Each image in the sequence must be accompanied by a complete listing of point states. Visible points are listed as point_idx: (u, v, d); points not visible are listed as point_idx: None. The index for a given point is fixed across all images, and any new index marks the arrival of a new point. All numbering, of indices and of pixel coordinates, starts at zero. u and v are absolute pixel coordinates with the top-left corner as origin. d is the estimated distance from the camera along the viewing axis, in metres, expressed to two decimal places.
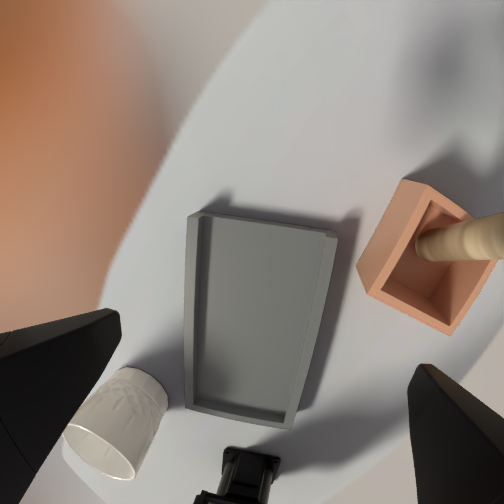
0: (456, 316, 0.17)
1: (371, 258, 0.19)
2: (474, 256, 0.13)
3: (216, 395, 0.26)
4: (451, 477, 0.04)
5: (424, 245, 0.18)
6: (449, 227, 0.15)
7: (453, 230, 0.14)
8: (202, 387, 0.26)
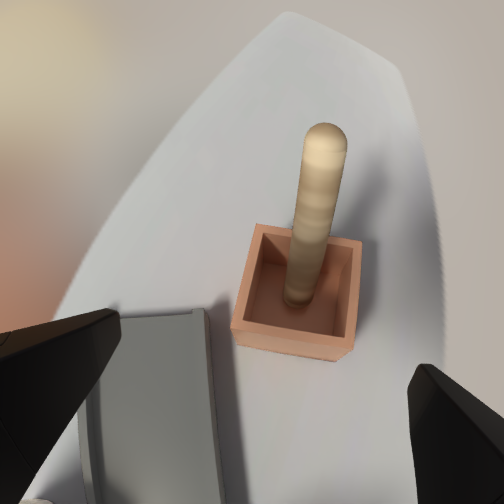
0: (346, 324, 0.17)
1: None
2: (308, 237, 0.17)
3: None
4: (451, 477, 0.04)
5: (285, 286, 0.21)
6: None
7: None
8: None
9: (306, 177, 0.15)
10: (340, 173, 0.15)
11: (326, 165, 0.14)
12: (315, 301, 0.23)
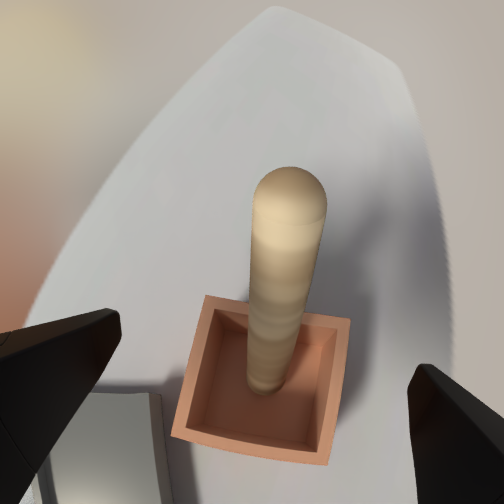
0: (321, 436, 0.12)
1: None
2: (268, 334, 0.12)
3: None
4: (451, 477, 0.04)
5: (247, 373, 0.15)
6: None
7: None
8: None
9: (257, 259, 0.10)
10: (314, 252, 0.09)
11: (288, 245, 0.09)
12: (289, 381, 0.17)
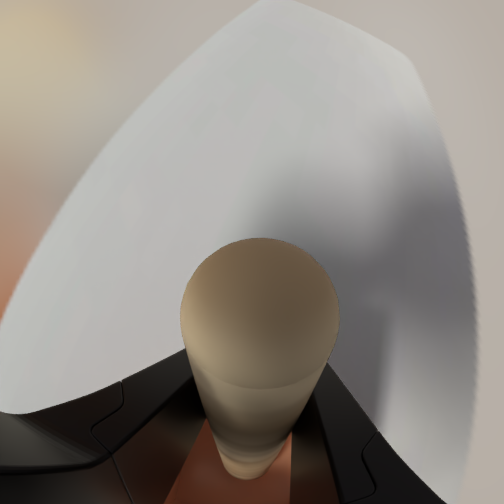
0: None
1: None
2: (237, 458, 0.07)
3: None
4: (304, 481, 0.05)
5: None
6: None
7: None
8: None
9: (203, 401, 0.05)
10: (307, 397, 0.05)
11: (253, 406, 0.04)
12: (277, 458, 0.12)
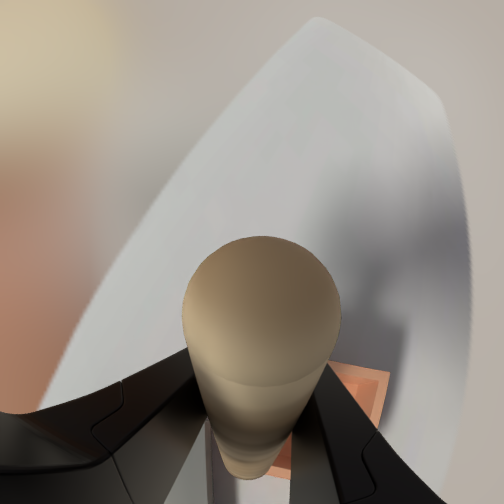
0: None
1: None
2: (238, 457, 0.07)
3: None
4: (304, 481, 0.05)
5: None
6: None
7: None
8: None
9: (205, 399, 0.05)
10: (308, 395, 0.05)
11: (255, 404, 0.04)
12: None
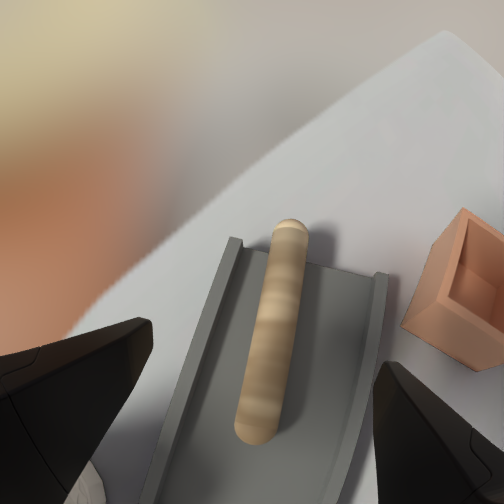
0: None
1: (423, 295, 0.17)
2: (275, 313, 0.16)
3: None
4: (408, 482, 0.04)
5: (240, 401, 0.14)
6: None
7: (251, 341, 0.16)
8: (173, 488, 0.13)
9: (274, 253, 0.17)
10: (304, 253, 0.18)
11: (292, 238, 0.18)
12: (476, 305, 0.18)
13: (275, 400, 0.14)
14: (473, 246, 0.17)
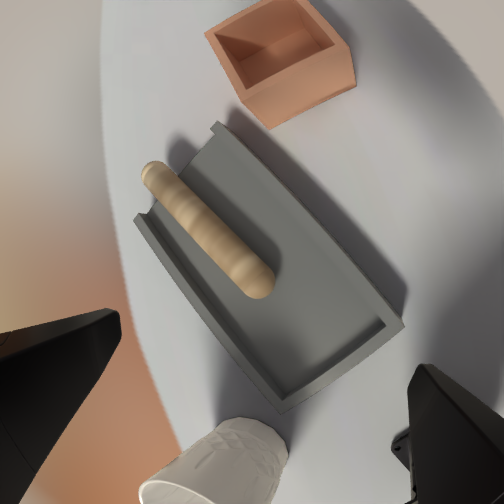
0: (329, 35, 0.14)
1: None
2: (191, 216, 0.20)
3: (298, 370, 0.20)
4: (451, 477, 0.04)
5: (232, 278, 0.19)
6: None
7: None
8: (277, 373, 0.20)
9: (156, 191, 0.21)
10: (171, 172, 0.21)
11: (156, 173, 0.21)
12: (301, 55, 0.19)
13: (246, 254, 0.19)
14: (245, 35, 0.18)
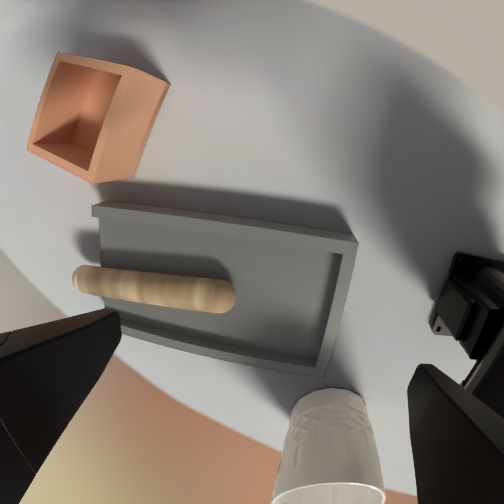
0: (112, 71, 0.14)
1: None
2: (133, 286, 0.20)
3: (307, 336, 0.21)
4: (451, 477, 0.04)
5: (198, 308, 0.19)
6: None
7: None
8: (294, 349, 0.21)
9: (94, 290, 0.21)
10: (95, 267, 0.21)
11: (84, 276, 0.21)
12: (110, 97, 0.19)
13: (194, 282, 0.20)
14: (57, 121, 0.18)
